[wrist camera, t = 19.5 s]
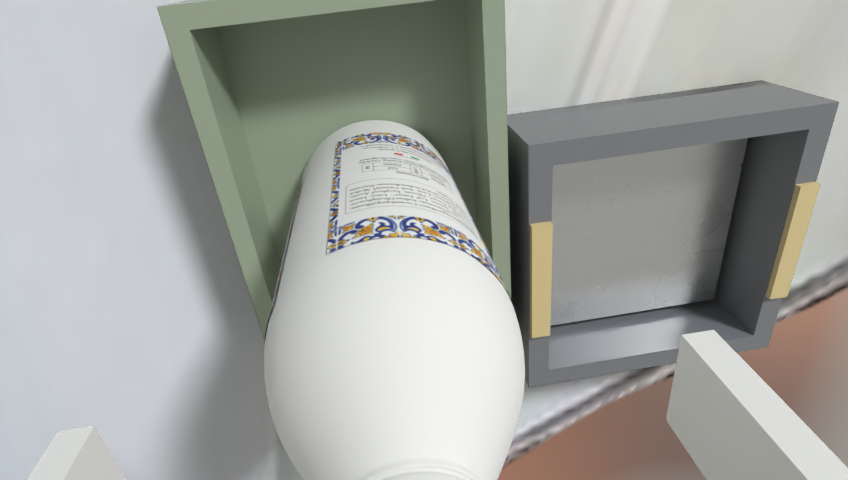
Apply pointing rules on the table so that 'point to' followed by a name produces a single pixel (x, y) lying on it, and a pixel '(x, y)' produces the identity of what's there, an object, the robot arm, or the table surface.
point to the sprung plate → (641, 229)
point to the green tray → (339, 103)
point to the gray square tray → (747, 236)
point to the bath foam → (390, 320)
